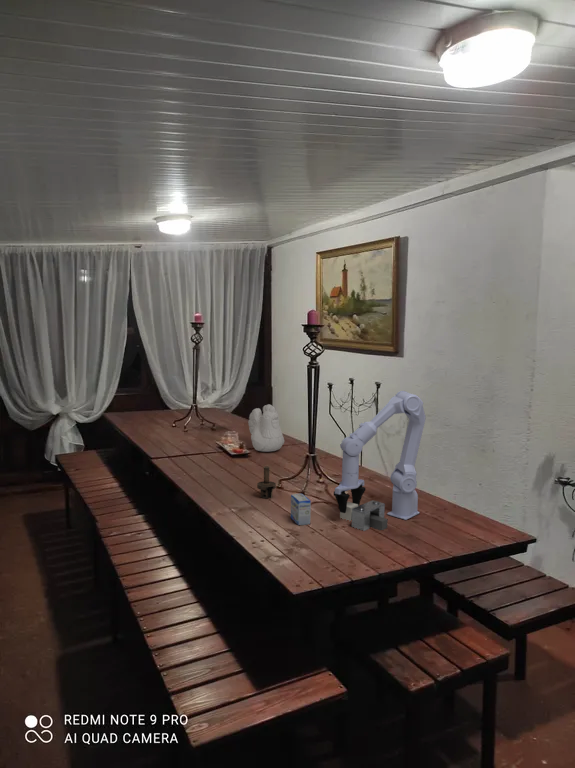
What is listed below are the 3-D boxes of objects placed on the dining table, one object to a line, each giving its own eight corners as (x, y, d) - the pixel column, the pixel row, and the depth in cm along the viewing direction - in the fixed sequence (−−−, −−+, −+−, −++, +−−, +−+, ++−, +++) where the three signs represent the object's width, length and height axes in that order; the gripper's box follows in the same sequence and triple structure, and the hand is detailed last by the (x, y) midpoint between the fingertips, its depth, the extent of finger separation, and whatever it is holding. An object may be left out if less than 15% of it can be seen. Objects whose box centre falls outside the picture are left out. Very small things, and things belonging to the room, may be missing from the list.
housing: (372, 517, 198) (372, 499, 197) (384, 521, 194) (384, 502, 193) (351, 527, 189) (352, 507, 188) (363, 531, 186) (364, 511, 185)
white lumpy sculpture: (288, 453, 288) (289, 405, 285) (260, 456, 281) (260, 407, 278) (269, 442, 310) (269, 398, 307) (242, 445, 304) (242, 400, 301)
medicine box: (290, 518, 197) (290, 494, 196) (302, 516, 198) (302, 492, 197) (298, 526, 190) (298, 501, 188) (310, 524, 191) (311, 499, 190)
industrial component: (278, 498, 217) (278, 468, 216) (261, 501, 214) (261, 470, 213) (270, 491, 226) (270, 462, 224) (253, 493, 223) (253, 464, 222)
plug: (347, 515, 200) (348, 501, 200) (388, 527, 189) (388, 513, 188) (339, 518, 197) (340, 504, 196) (380, 531, 186) (381, 516, 185)
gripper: (353, 465, 203) (352, 501, 205) (328, 473, 192) (327, 511, 194) (369, 469, 198) (368, 506, 200) (344, 477, 188) (343, 517, 189)
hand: (349, 509), depth 197 cm, fingers open, 7 cm apart
